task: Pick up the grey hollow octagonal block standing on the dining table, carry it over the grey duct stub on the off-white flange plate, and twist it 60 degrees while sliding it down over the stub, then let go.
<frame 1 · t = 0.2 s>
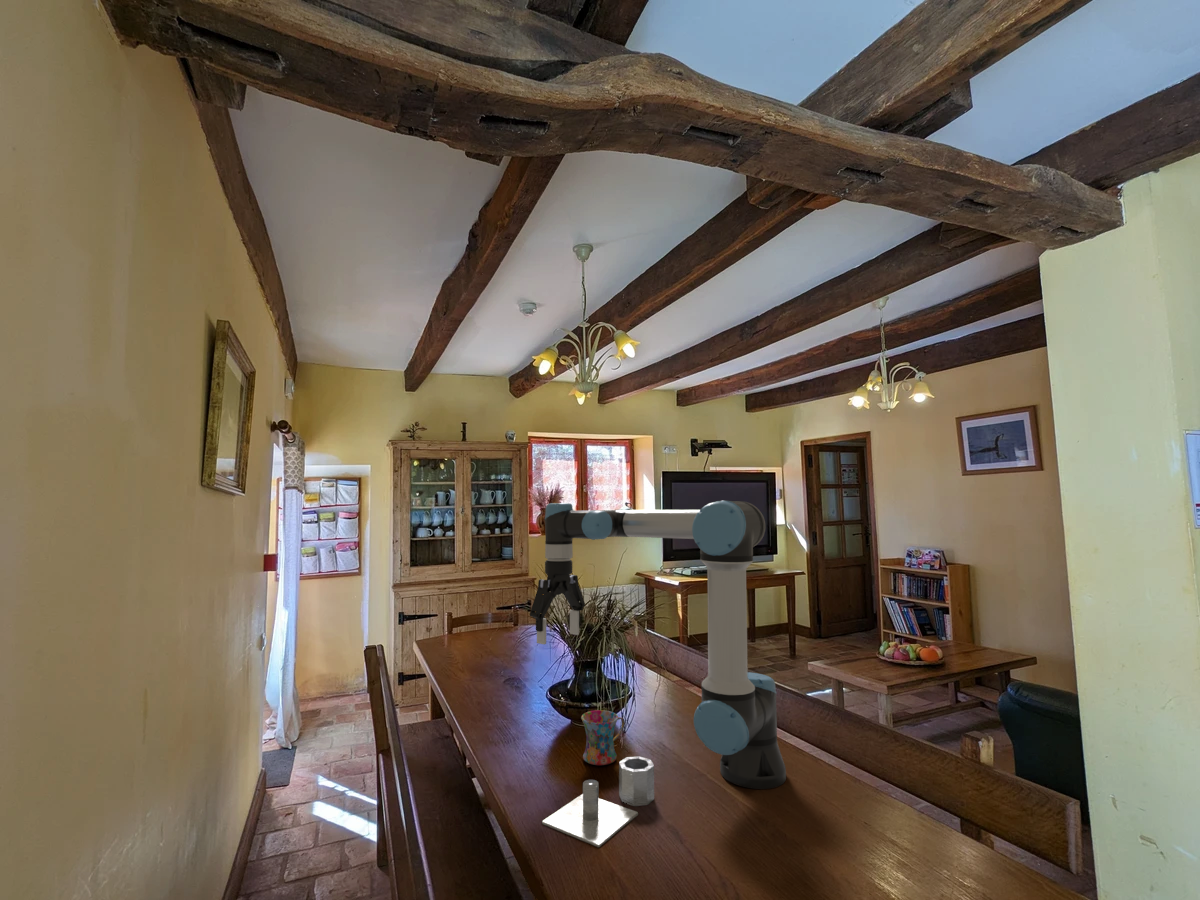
hand: (558, 638, 157), 28 cm above the table, fingers open, 13 cm apart
mug: (604, 760, 146), on the table
duct stub: (590, 819, 119), on the table
grey hollow octagonal block: (636, 797, 127), on the table
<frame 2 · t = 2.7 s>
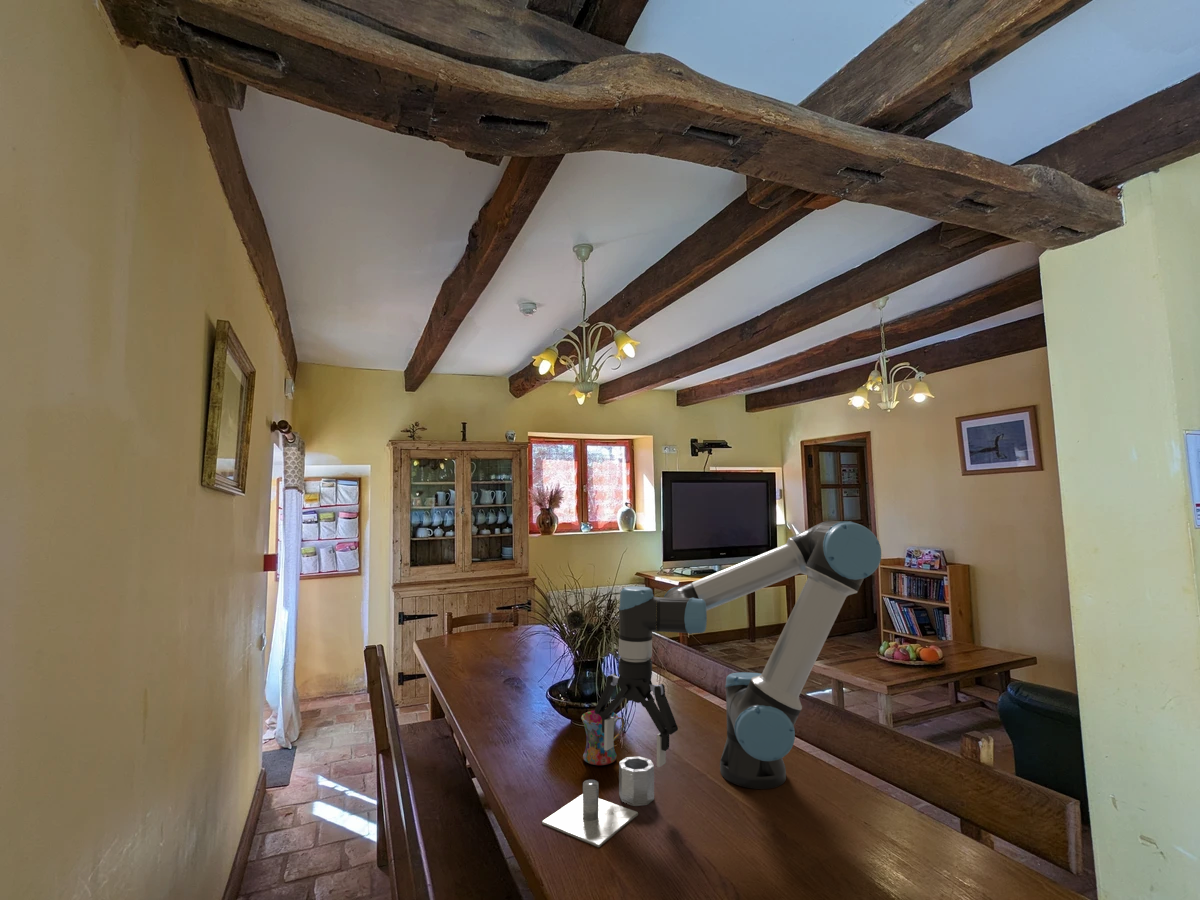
hand: (634, 756, 128), 9 cm above the table, fingers open, 13 cm apart
nothing on the table moved.
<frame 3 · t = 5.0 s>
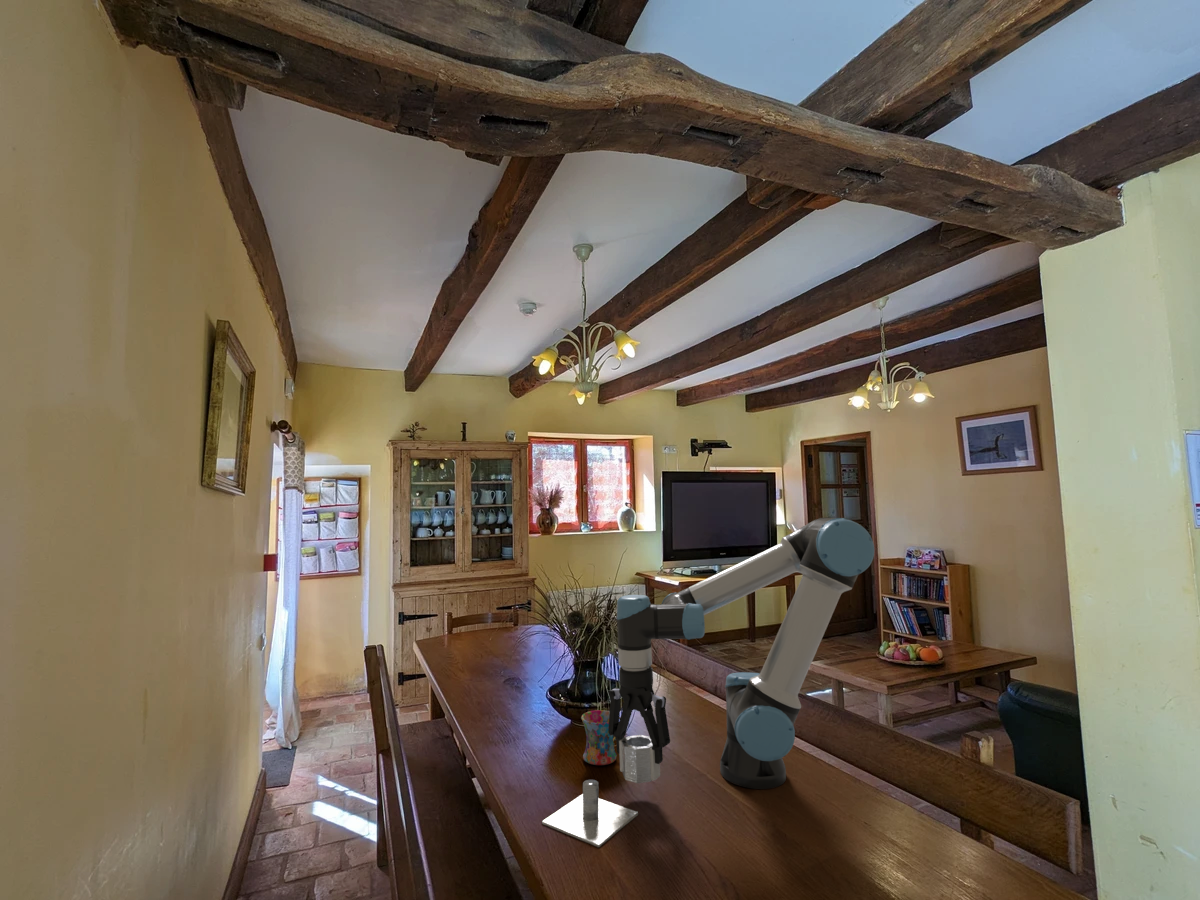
hand: (640, 773, 128), 5 cm above the table, fingers closed on grey hollow octagonal block, 7 cm apart
grey hollow octagonal block: (640, 774, 128), point 5 cm above the table, touching gripper
everything else where it was.
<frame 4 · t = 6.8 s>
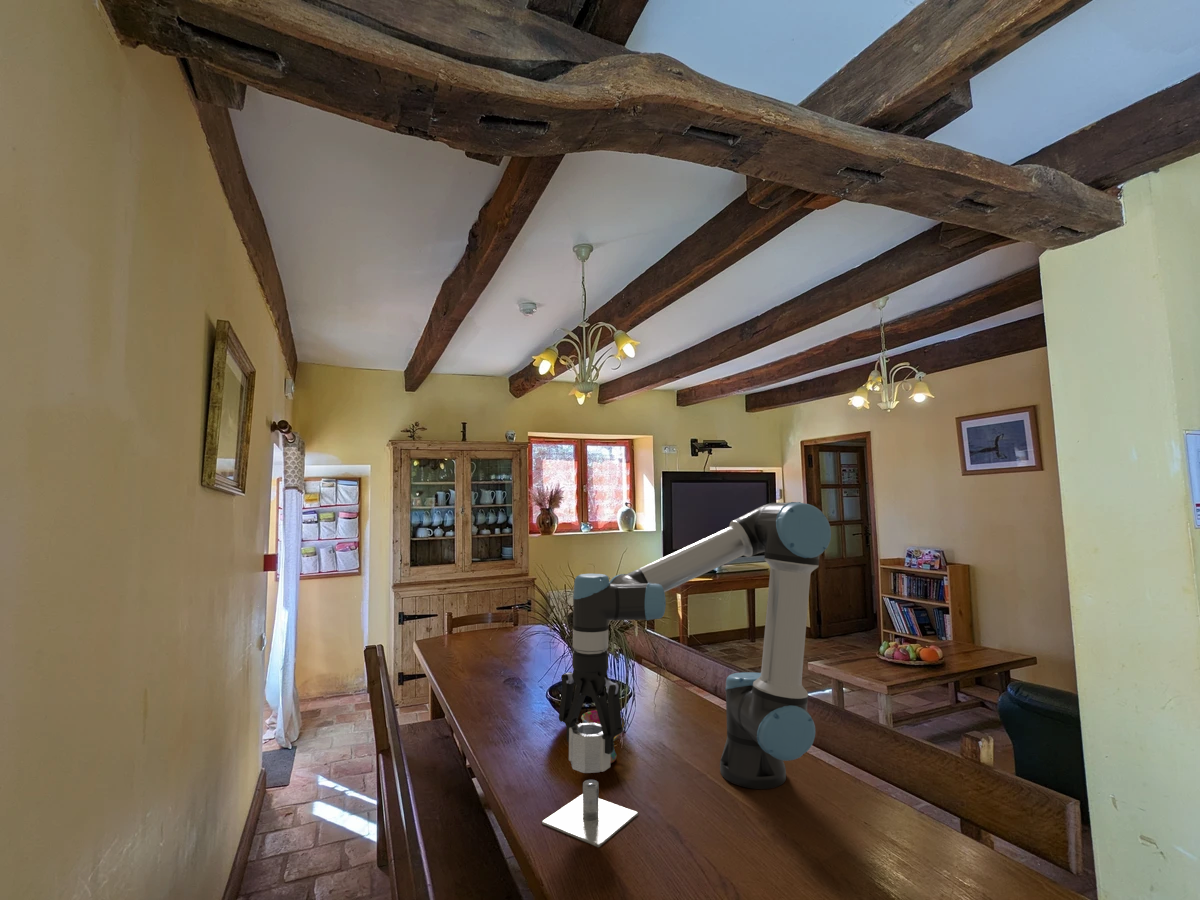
hand: (589, 763, 119), 11 cm above the table, fingers closed on grey hollow octagonal block, 7 cm apart
grey hollow octagonal block: (589, 764, 119), point 11 cm above the table, touching gripper
everything else where it was.
when the fingers open (2 cm above the table, at t = 8.9 s): grey hollow octagonal block stays where it is, resting on duct stub.
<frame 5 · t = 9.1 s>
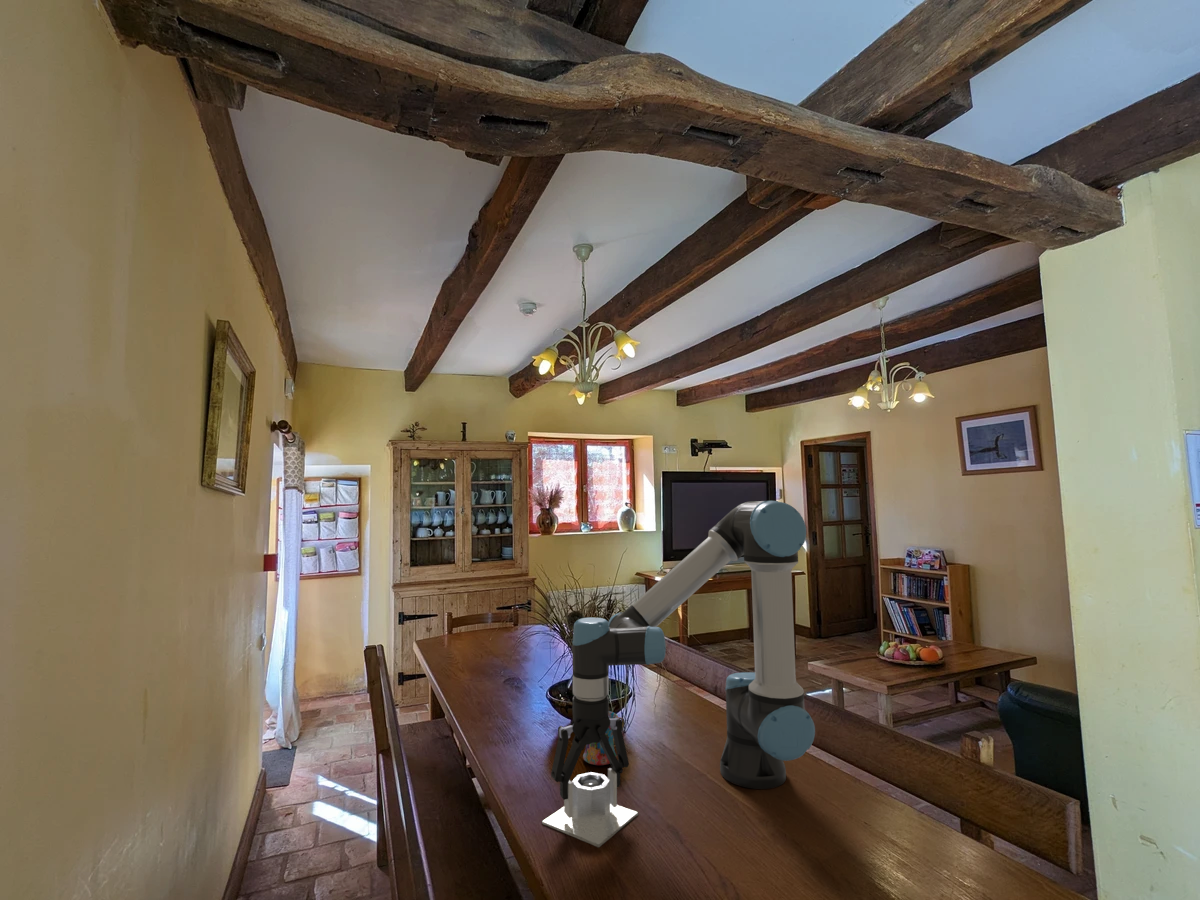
hand: (590, 808, 119), 2 cm above the table, fingers open, 9 cm apart
grey hollow octagonal block: (591, 816, 119), resting on duct stub
everything else where it was.
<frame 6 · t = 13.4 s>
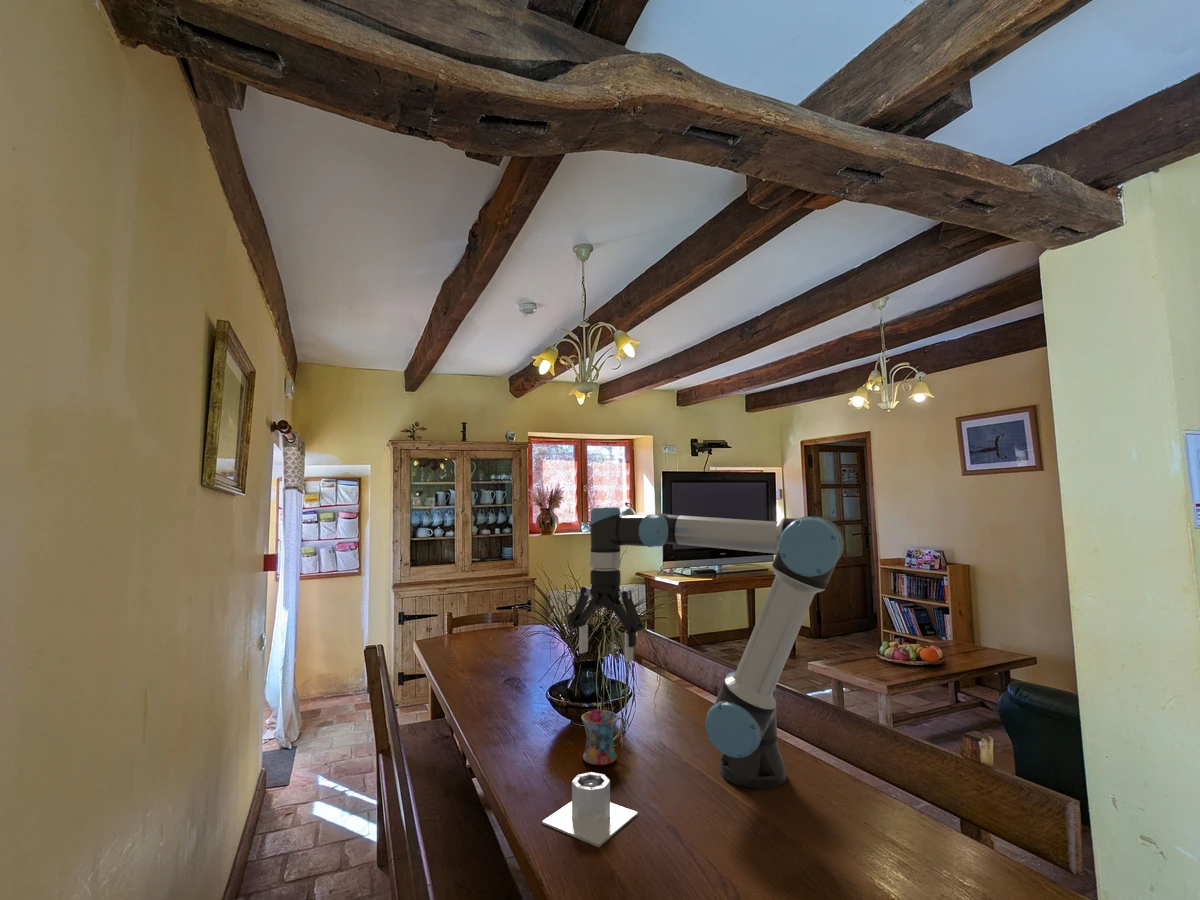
hand: (605, 656, 143), 27 cm above the table, fingers open, 13 cm apart
nothing on the table moved.
at the end: grey hollow octagonal block 0.1 cm off-centre on the duct stub, point 0.5 cm above the duct stub's base; grey hollow octagonal block tilted 0°; the gripper is holding nothing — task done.
